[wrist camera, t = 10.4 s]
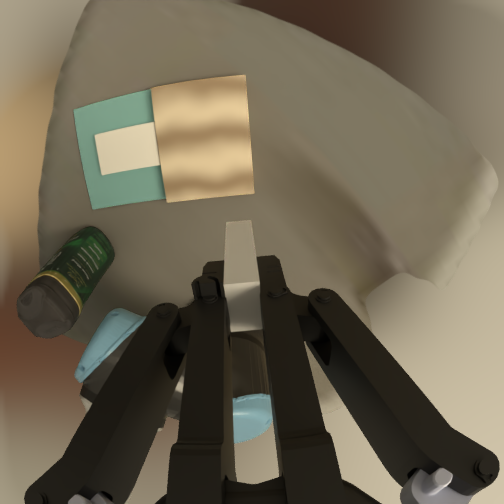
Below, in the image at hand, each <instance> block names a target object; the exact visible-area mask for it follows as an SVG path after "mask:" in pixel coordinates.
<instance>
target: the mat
mask: <svg viewBox="0 0 504 504" xmlns="http://www.w3.org/2000/svg"><path fill="white" fill-rule="evenodd" d="M74 118H75V125H76V131H77V138H78V144H79V149H80V155H81V160H82V165H83V170H84V175H85V179H86V184H87V188H88V193H89V197H90V201H91V205H92V209H99V208H105V207H111V206H117V205H123V204H130V203H137V202H143V201H151V200H158V199H165V198H166V194H165V188H164V182H163V176H162V170H161V165H157V166H151V167H145V168H139V169H133V170H127V171H122V172H116V173H111V174H106V175H102V174H101V169H100V164H99V158H98V153H97V147H96V141H95V135H96V134H100V133H104V132H108V131H112V130H116V129H120V128H125V127H130V126H134V125H139V124H144V123H150V122H155V120H154V112H153V103H152V94H151V89H150V90H145V91H140V92H136V93H131V94H127V95H123V96H119V97H115V98H112V99H108V100H104V101H101V102H97V103H94V104H90V105H87V106H84V107H81V108H78V109H75V110H74Z"/></svg>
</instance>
